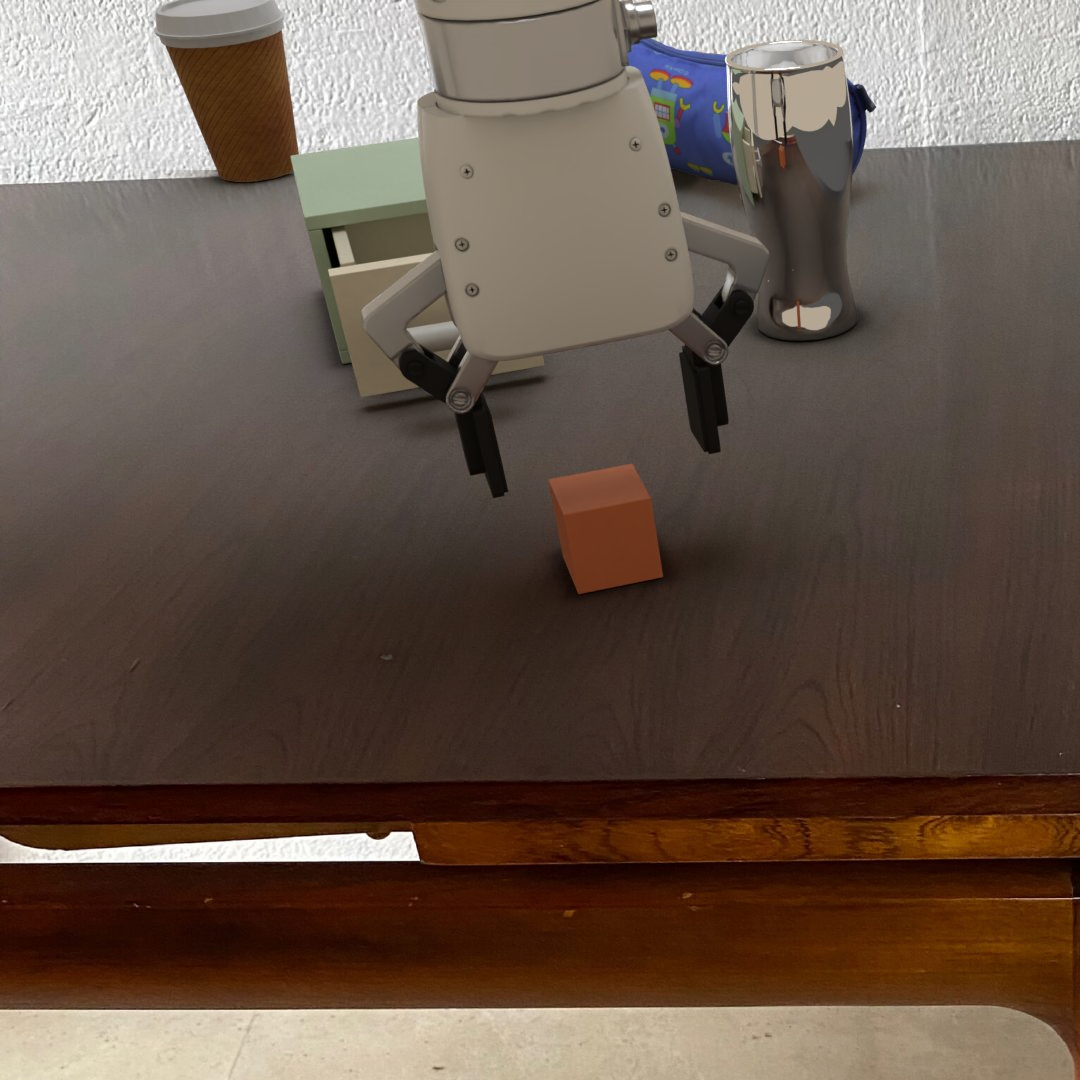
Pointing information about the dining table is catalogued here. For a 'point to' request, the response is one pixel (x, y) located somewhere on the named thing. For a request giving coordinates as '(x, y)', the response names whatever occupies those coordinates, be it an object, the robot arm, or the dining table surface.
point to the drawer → (370, 269)
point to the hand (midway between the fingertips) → (602, 463)
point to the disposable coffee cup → (234, 82)
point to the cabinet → (355, 200)
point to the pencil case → (708, 108)
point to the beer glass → (795, 180)
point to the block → (606, 528)
